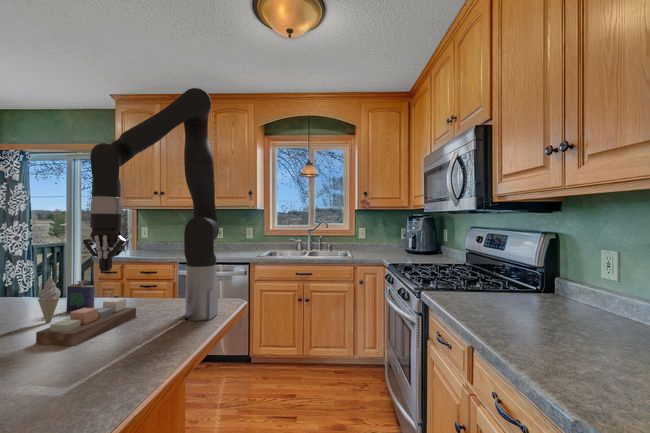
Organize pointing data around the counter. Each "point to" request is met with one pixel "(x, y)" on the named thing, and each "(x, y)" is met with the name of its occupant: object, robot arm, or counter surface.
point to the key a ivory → (115, 304)
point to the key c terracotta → (85, 315)
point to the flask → (80, 296)
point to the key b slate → (104, 312)
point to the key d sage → (65, 325)
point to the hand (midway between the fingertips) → (105, 271)
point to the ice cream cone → (49, 299)
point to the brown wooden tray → (86, 329)
